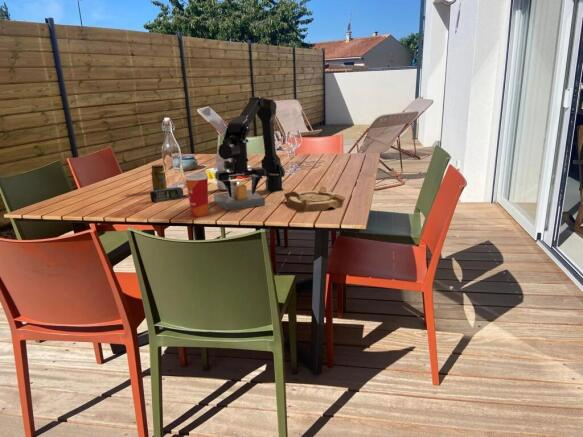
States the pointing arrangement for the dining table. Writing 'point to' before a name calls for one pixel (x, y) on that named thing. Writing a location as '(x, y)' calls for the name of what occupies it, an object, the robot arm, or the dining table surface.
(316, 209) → the ashtray
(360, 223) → the dining table surface
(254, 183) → the robot arm
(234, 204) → the grey slotted base plate
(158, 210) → the dining table surface
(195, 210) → the coffee cup
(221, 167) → the plastic bottle
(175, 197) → the dark grey elongated bar
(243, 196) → the orange rectangular block
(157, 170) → the condiment
